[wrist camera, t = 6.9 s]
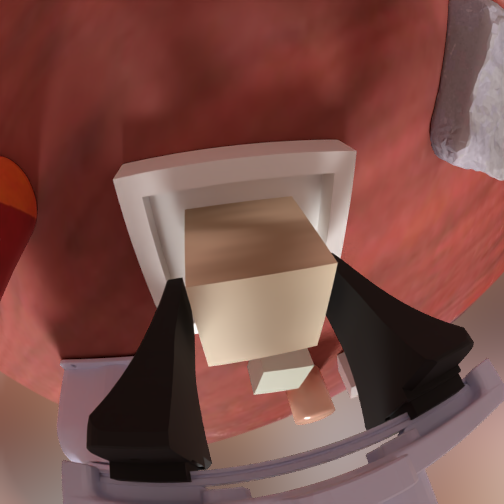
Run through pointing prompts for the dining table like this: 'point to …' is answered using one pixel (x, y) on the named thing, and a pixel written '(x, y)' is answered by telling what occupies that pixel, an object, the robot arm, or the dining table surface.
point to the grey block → (346, 375)
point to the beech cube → (256, 278)
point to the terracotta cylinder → (310, 399)
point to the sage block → (279, 371)
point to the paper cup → (14, 217)
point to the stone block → (472, 89)
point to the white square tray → (230, 194)
